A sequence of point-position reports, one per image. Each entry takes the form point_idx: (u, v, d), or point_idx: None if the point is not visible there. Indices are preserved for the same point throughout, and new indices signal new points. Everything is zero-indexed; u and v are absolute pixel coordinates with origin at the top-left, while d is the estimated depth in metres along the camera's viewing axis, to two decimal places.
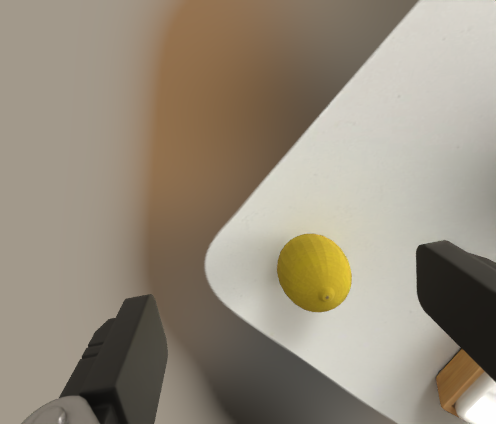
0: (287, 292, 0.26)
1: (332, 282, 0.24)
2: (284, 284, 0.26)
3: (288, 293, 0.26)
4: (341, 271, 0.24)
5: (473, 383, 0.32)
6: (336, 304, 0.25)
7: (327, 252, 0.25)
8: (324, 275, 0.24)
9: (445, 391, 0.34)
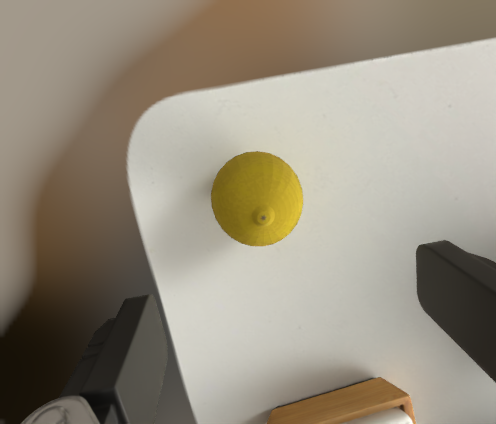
0: (218, 191, 0.19)
1: (279, 208, 0.18)
2: (222, 180, 0.19)
3: (218, 192, 0.19)
4: (294, 206, 0.19)
5: None
6: (262, 239, 0.19)
7: (293, 179, 0.19)
8: (277, 194, 0.18)
9: None
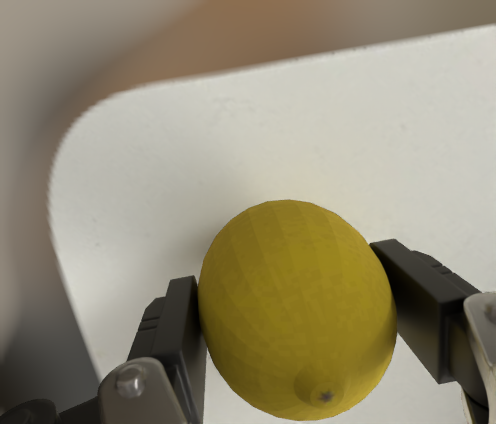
0: (211, 302, 0.08)
1: (362, 361, 0.07)
2: (220, 276, 0.08)
3: (212, 306, 0.08)
4: (390, 345, 0.08)
5: None
6: (313, 419, 0.08)
7: (381, 274, 0.08)
8: (356, 327, 0.07)
9: None
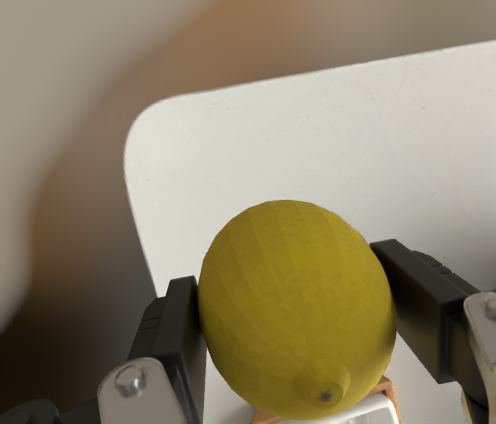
0: (211, 301, 0.08)
1: (361, 361, 0.07)
2: (220, 276, 0.09)
3: (212, 306, 0.08)
4: (389, 345, 0.08)
5: None
6: (313, 419, 0.08)
7: (380, 274, 0.09)
8: (355, 327, 0.07)
9: (263, 412, 0.30)
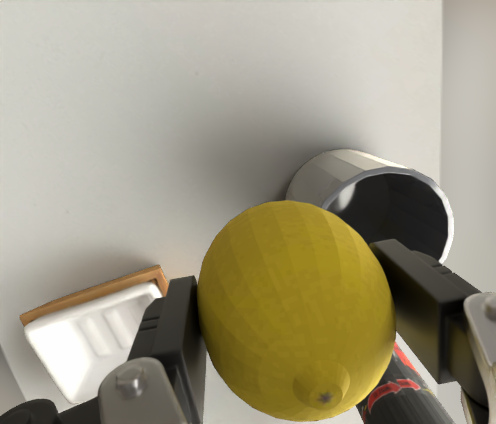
0: (210, 302, 0.08)
1: (360, 362, 0.07)
2: (219, 277, 0.08)
3: (211, 307, 0.08)
4: (389, 346, 0.08)
5: (64, 309, 0.28)
6: (312, 420, 0.08)
7: (380, 275, 0.08)
8: (355, 328, 0.07)
9: (40, 307, 0.29)
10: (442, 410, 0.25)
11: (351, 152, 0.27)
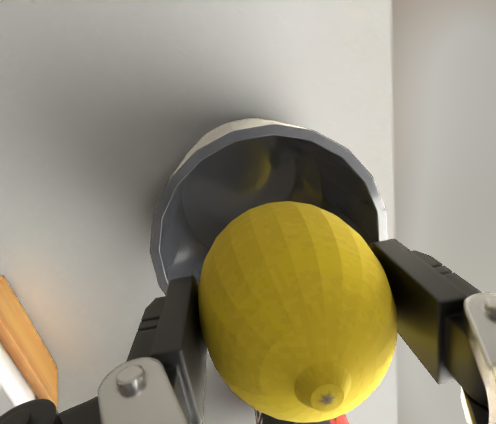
0: (211, 304, 0.08)
1: (362, 363, 0.07)
2: (221, 278, 0.08)
3: (213, 308, 0.08)
4: (390, 347, 0.08)
5: None
6: (314, 421, 0.08)
7: (381, 276, 0.08)
8: (356, 330, 0.07)
9: None
10: None
11: (254, 118, 0.19)
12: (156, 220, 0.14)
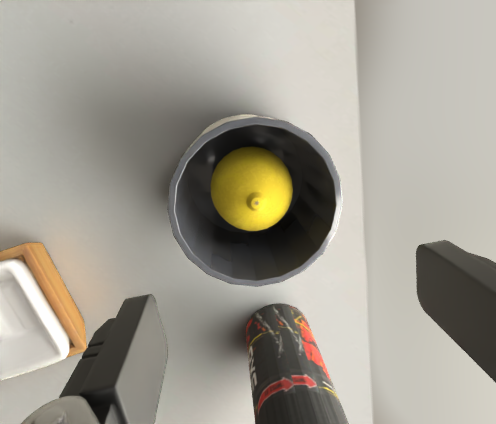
0: (216, 181, 0.22)
1: (270, 194, 0.20)
2: (220, 171, 0.22)
3: (217, 182, 0.21)
4: (284, 194, 0.21)
5: None
6: (256, 223, 0.21)
7: (283, 170, 0.22)
8: (268, 182, 0.20)
9: None
10: (334, 411, 0.21)
11: (246, 114, 0.24)
12: (172, 186, 0.19)
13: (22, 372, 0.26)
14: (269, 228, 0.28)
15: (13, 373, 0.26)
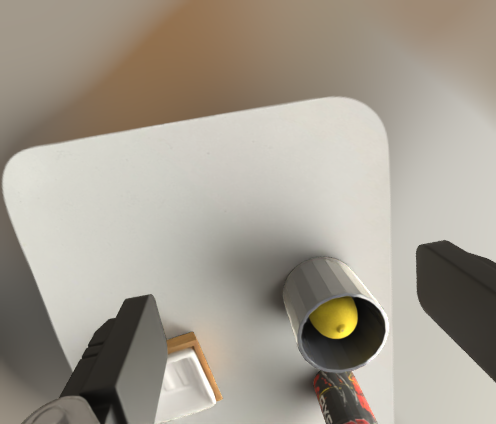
0: (316, 312, 0.39)
1: (349, 324, 0.37)
2: (318, 307, 0.39)
3: (317, 313, 0.38)
4: (355, 321, 0.38)
5: None
6: (339, 337, 0.38)
7: (353, 306, 0.39)
8: (348, 318, 0.37)
9: None
10: None
11: (327, 265, 0.41)
12: (301, 325, 0.36)
13: (189, 414, 0.43)
14: None
15: (183, 414, 0.43)
